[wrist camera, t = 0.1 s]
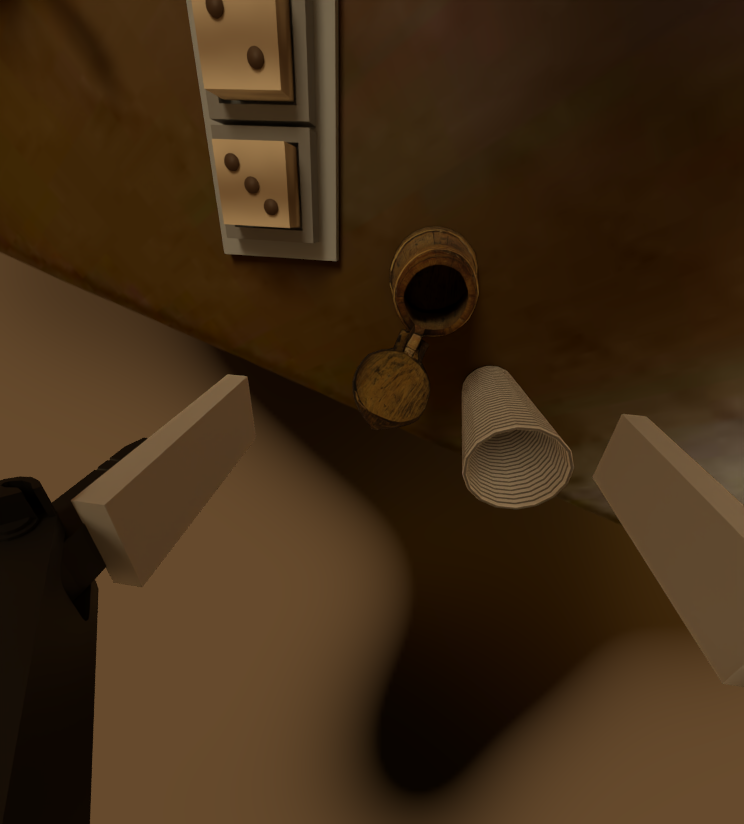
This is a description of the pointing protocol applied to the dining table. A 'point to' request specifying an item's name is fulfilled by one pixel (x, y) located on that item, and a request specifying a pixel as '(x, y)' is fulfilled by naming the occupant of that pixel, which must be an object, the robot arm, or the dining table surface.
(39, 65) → the dining table surface
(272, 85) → the tile
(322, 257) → the button board
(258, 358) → the dining table surface
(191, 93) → the dining table surface
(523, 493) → the cup
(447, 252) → the wooden mug
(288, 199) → the tile
